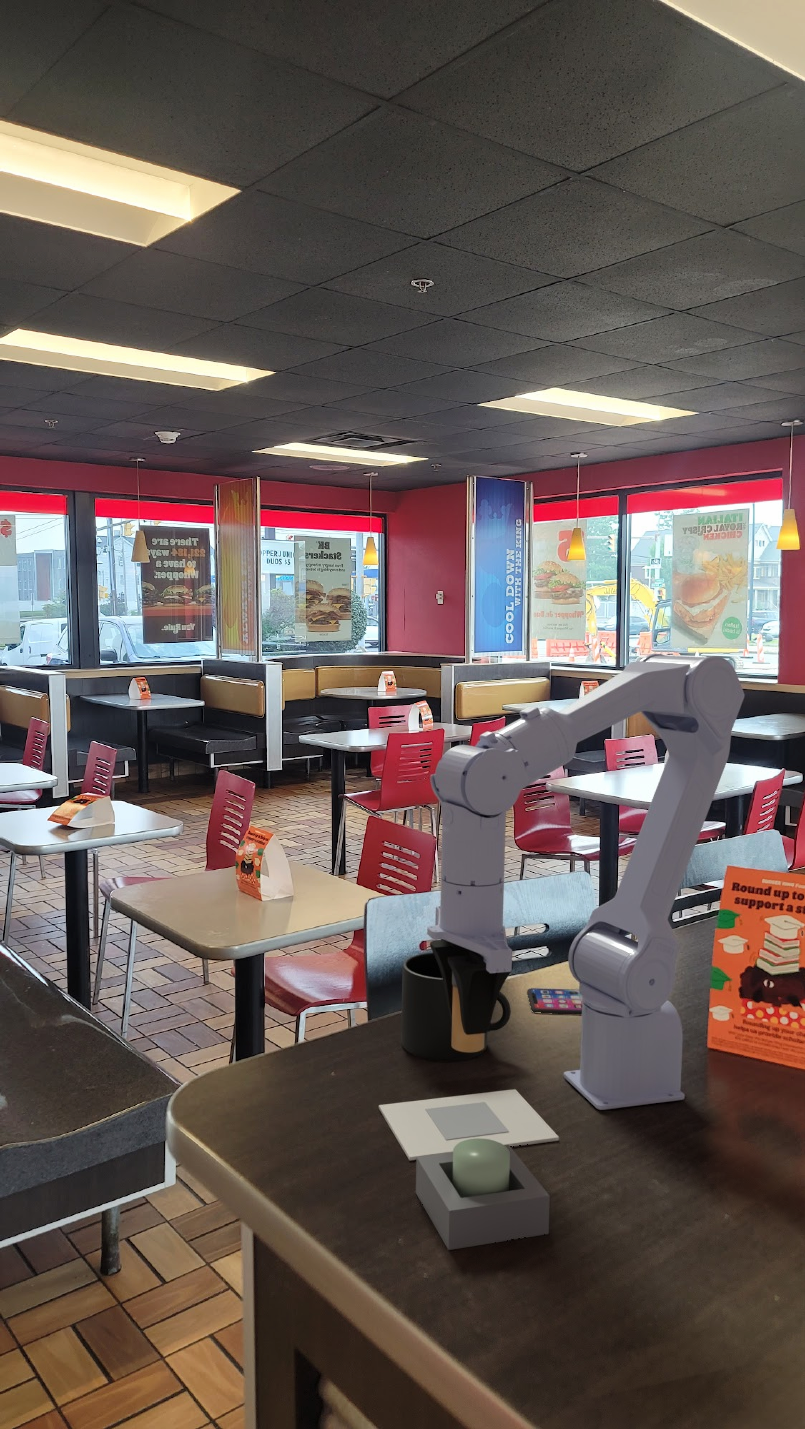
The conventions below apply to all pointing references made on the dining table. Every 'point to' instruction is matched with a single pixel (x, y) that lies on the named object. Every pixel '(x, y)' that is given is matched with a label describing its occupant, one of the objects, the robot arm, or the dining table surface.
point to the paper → (465, 1122)
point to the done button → (480, 1167)
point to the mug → (433, 1012)
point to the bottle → (458, 1036)
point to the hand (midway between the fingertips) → (468, 1024)
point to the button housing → (481, 1204)
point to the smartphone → (555, 1001)
